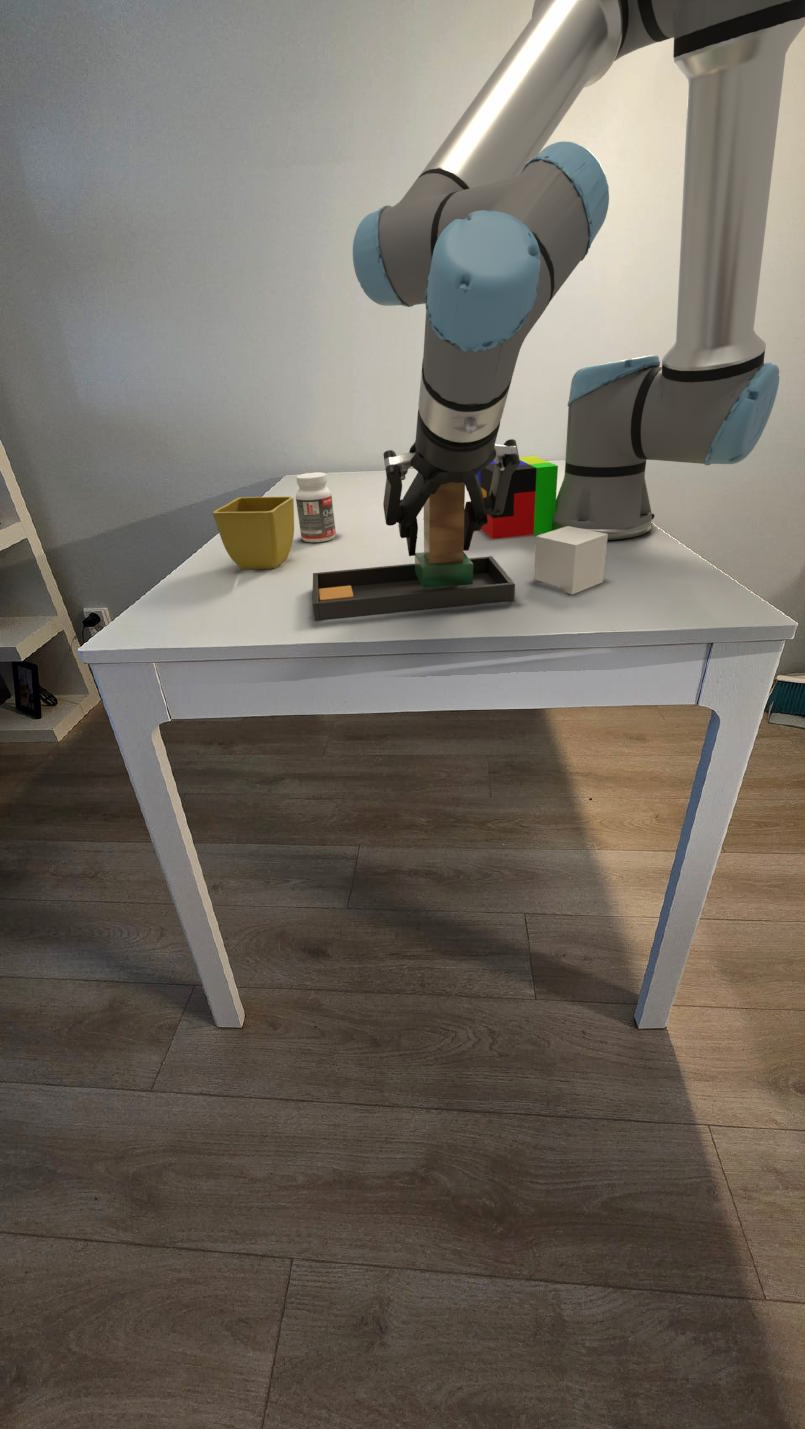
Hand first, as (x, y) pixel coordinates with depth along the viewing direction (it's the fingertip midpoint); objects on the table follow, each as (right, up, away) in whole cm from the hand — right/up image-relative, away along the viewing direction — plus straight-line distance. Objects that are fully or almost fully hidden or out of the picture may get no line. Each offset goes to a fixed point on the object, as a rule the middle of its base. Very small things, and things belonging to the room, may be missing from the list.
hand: (437, 543), depth 80 cm
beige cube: (+16, -5, +1) cm, 17 cm away
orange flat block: (-12, -8, -2) cm, 15 cm away
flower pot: (-24, 0, +14) cm, 28 cm away
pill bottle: (-18, +8, +26) cm, 33 cm away
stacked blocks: (+1, -5, -2) cm, 5 cm away
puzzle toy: (+14, +9, +25) cm, 30 cm away
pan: (-3, -7, -1) cm, 8 cm away
